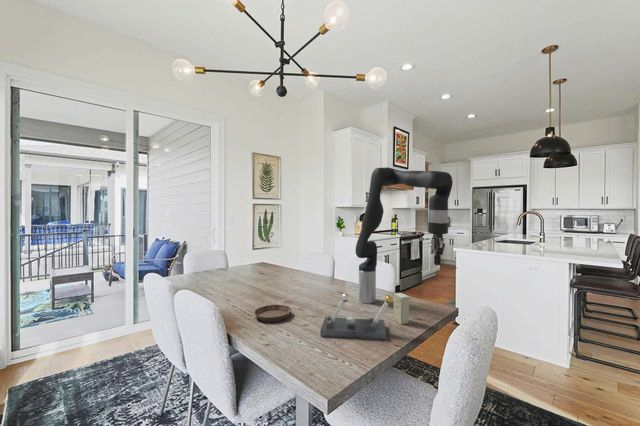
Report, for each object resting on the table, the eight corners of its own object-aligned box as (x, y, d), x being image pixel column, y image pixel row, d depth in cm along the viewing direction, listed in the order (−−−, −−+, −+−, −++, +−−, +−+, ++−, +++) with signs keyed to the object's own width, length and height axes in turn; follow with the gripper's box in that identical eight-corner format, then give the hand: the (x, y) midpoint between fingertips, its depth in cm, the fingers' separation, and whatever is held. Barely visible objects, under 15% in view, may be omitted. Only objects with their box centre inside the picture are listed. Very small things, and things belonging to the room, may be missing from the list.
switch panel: (325, 322, 133) (325, 312, 133) (384, 325, 129) (383, 315, 129) (320, 336, 119) (320, 325, 119) (386, 340, 115) (386, 328, 115)
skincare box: (393, 319, 136) (392, 293, 136) (401, 318, 137) (401, 292, 137) (401, 324, 130) (401, 297, 130) (409, 323, 132) (409, 296, 131)
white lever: (328, 318, 128) (344, 291, 126) (333, 322, 127) (349, 295, 126) (327, 322, 124) (343, 294, 122) (332, 325, 123) (349, 297, 122)
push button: (347, 321, 126) (346, 316, 126) (355, 321, 126) (355, 317, 126) (346, 324, 123) (346, 320, 123) (355, 324, 122) (355, 320, 122)
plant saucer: (252, 312, 147) (252, 306, 147) (287, 308, 153) (287, 302, 153) (256, 326, 131) (256, 319, 131) (295, 320, 137) (295, 314, 136)
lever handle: (370, 320, 125) (387, 293, 123) (376, 324, 124) (392, 296, 123) (371, 324, 121) (388, 296, 120) (376, 327, 121) (393, 299, 119)
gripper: (425, 220, 125) (424, 261, 125) (431, 222, 112) (430, 267, 112) (443, 220, 124) (442, 262, 124) (452, 222, 111) (451, 268, 111)
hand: (437, 264), depth 118 cm, fingers closed
